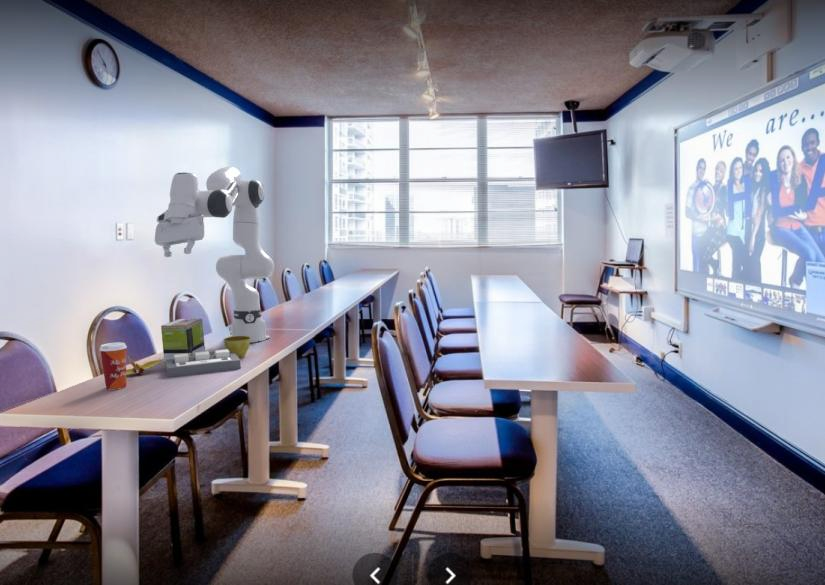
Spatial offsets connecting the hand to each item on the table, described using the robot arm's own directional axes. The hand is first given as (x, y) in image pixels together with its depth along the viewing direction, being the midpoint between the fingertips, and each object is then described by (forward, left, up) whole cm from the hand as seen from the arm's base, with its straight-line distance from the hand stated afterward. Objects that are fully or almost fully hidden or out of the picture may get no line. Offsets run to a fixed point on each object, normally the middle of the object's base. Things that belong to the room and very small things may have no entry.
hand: (177, 255), depth 179 cm
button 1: (-7, -1, -39) cm, 40 cm away
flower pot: (-18, +20, -42) cm, 50 cm away
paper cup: (+8, -21, -42) cm, 47 cm away
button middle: (-7, +6, -39) cm, 41 cm away
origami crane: (-7, -15, -42) cm, 45 cm away
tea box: (-25, +1, -42) cm, 49 cm away
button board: (-5, +6, -41) cm, 42 cm away
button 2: (-7, +13, -39) cm, 42 cm away
